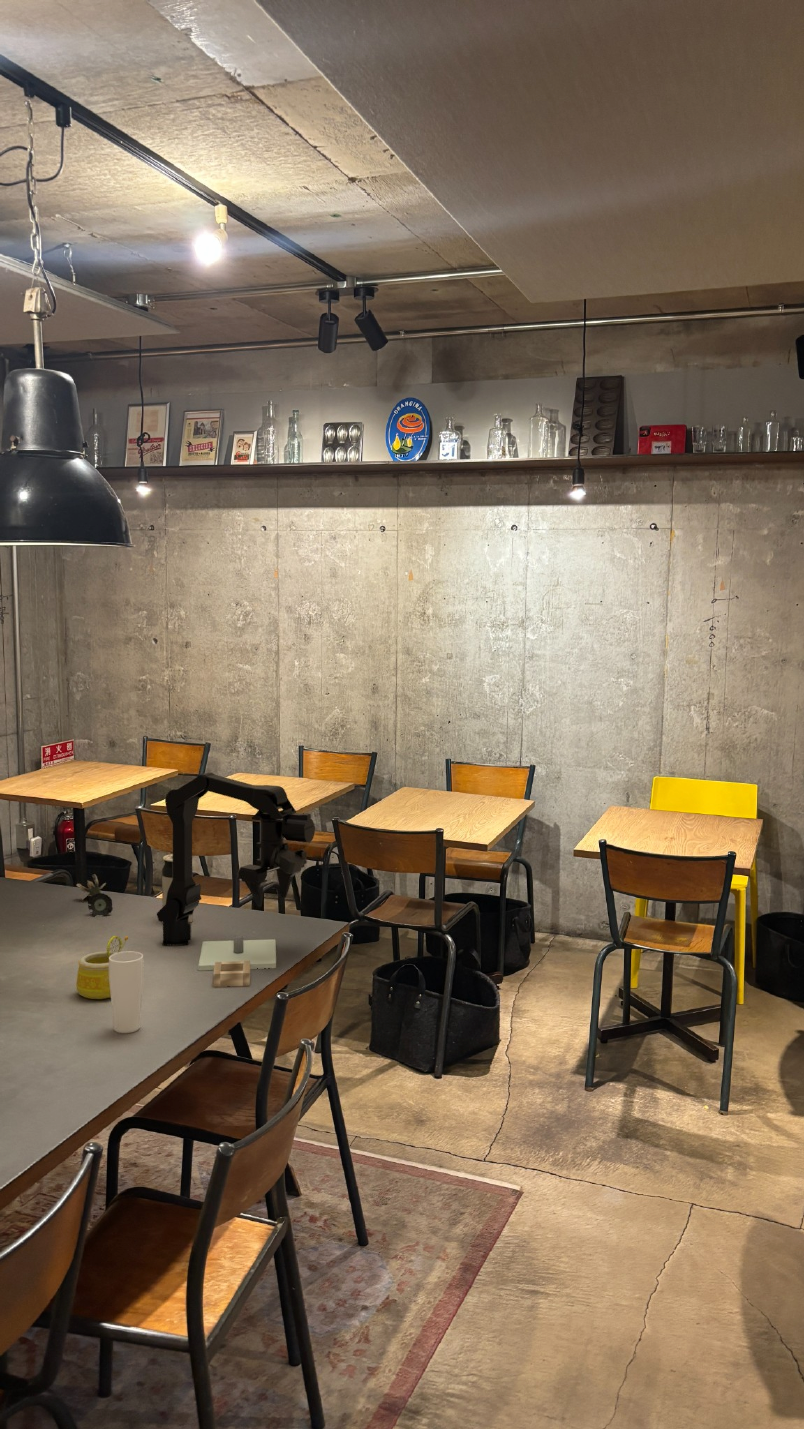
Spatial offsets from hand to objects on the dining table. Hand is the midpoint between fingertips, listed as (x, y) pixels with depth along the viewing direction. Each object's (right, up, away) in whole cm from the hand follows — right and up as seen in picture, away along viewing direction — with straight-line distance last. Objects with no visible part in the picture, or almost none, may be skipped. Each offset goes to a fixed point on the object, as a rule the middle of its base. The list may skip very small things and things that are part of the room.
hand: (271, 901), depth 251 cm
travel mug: (-29, -11, +28) cm, 41 cm away
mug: (-33, -16, -24) cm, 44 cm away
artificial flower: (-56, -9, +42) cm, 70 cm away
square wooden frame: (-7, -15, -16) cm, 23 cm away
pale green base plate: (-8, -13, 0) cm, 16 cm away
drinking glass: (-24, -18, -44) cm, 53 cm away
